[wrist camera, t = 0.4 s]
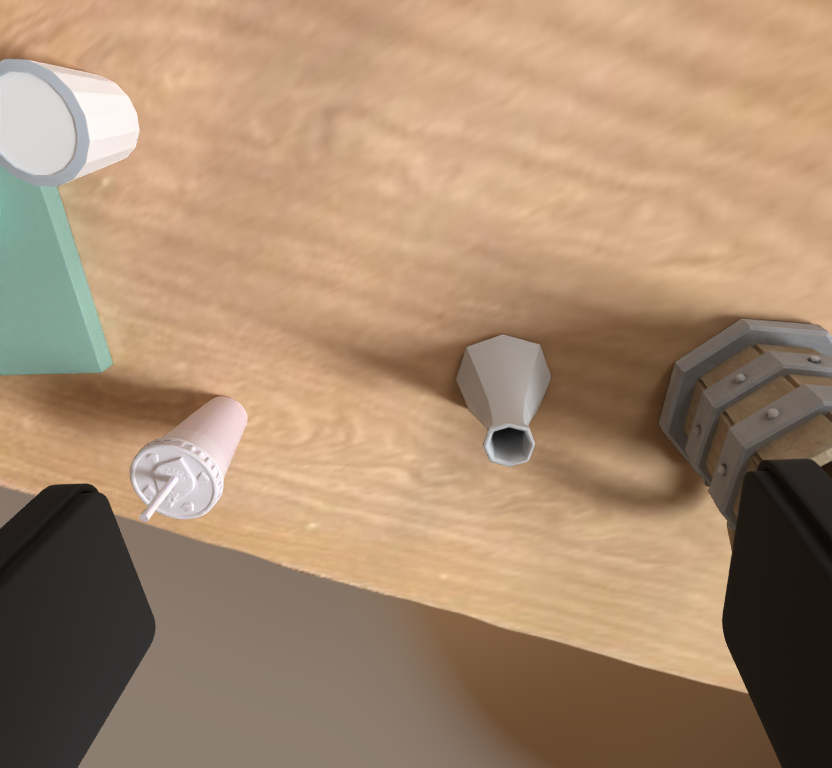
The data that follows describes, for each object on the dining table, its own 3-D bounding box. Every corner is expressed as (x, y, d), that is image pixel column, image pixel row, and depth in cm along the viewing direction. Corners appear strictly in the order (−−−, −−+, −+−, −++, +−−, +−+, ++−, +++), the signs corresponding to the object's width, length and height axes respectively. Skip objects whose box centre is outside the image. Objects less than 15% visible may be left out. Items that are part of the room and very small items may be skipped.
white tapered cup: (28, 101, 41) (-54, 103, 34) (98, 40, 39) (25, 30, 32) (98, 192, 43) (34, 209, 37) (168, 138, 41) (112, 147, 35)
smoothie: (272, 400, 49) (202, 507, 37) (251, 459, 52) (179, 576, 40) (198, 369, 49) (101, 467, 36) (180, 430, 51) (84, 540, 39)
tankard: (686, 313, 43) (780, 415, 29) (871, 327, 42) (1054, 439, 29) (628, 533, 52) (680, 688, 38) (779, 548, 51) (887, 712, 38)
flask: (458, 418, 48) (453, 493, 39) (454, 334, 45) (448, 395, 36) (550, 417, 48) (566, 493, 39) (552, 331, 44) (570, 392, 35)
